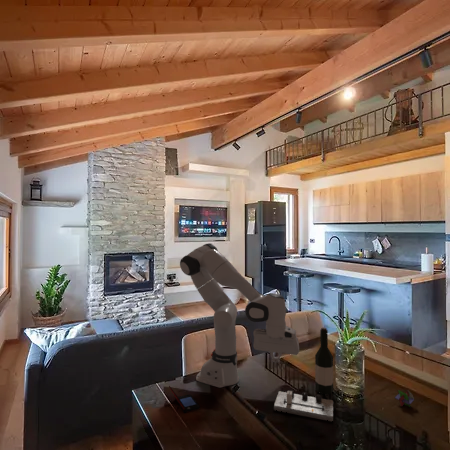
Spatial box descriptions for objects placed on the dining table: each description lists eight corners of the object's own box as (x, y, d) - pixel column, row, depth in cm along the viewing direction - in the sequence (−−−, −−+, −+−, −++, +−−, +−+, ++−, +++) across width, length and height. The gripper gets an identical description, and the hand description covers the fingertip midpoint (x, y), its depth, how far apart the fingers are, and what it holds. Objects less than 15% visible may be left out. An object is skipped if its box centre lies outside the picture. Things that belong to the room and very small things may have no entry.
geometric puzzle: (404, 407, 131) (411, 390, 133) (389, 400, 137) (396, 383, 140) (412, 414, 133) (419, 397, 136) (397, 406, 140) (404, 390, 142)
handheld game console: (200, 409, 133) (201, 392, 133) (176, 416, 128) (177, 397, 128) (190, 396, 144) (190, 380, 144) (168, 401, 139) (168, 384, 139)
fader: (286, 403, 133) (286, 393, 134) (287, 399, 136) (287, 390, 136) (291, 404, 133) (291, 394, 133) (292, 400, 136) (292, 391, 136)
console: (274, 410, 132) (274, 400, 132) (279, 395, 144) (279, 386, 145) (333, 421, 124) (332, 411, 124) (333, 405, 136) (332, 395, 137)
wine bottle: (334, 395, 145) (334, 331, 146) (316, 393, 146) (315, 330, 148) (332, 387, 153) (331, 326, 154) (314, 385, 154) (314, 325, 156)
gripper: (251, 329, 138) (251, 361, 138) (298, 334, 131) (298, 367, 131) (255, 326, 144) (255, 356, 144) (299, 330, 137) (299, 362, 137)
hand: (275, 361), depth 137 cm, fingers closed
